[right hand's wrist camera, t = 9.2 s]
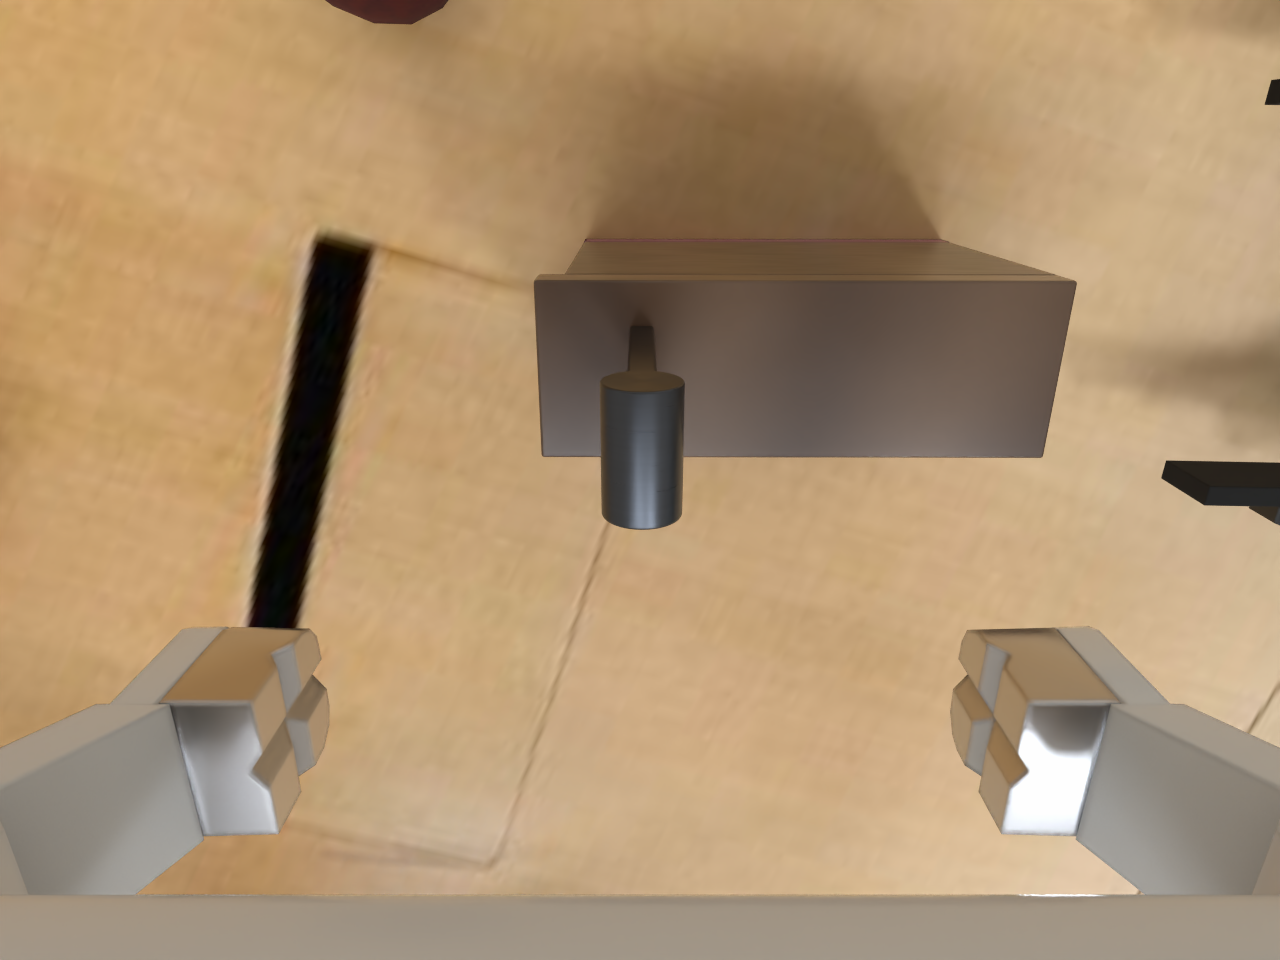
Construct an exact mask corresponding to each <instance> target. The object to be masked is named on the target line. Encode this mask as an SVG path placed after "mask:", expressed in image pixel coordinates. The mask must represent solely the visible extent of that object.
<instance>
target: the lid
mask: <svg viewBox="0 0 1280 960" xmlns="http://www.w3.org/2000/svg"><path fill="white" fill-rule="evenodd" d="M1076 285H1077V283H1076V281H1074V280H1070V279H1067V278H1064V277H1061V276H1057V275H605V274H540V275H539V276H538V277H537V278H536V279H535V281H534V298H535V320H536V342H537V363H538V385H539V407H540V429H541V450H542V456H544V457H601V493H602V515H603V517H604V518H605V519H606V520H607V521H608V522H609V523H611V524H613V525H616V526H619V527H623V528H628V529H639V530H646V529H656V528H661V527H665V526H668V525H671V524H673V523H675V522H676V521H677V520H678V519H679V518H680V517H681V515H682V491H683V457H935V458H1041V457H1042V456H1043V452H1044V447H1045V442H1046V437H1047V432H1048V427H1049V422H1050V417H1051V412H1052V407H1053V401H1054V396H1055V391H1056V386H1057V381H1058V376H1059V371H1060V366H1061V361H1062V356H1063V351H1064V346H1065V340H1066V335H1067V330H1068V325H1069V320H1070V315H1071V310H1072V305H1073V300H1074V295H1075V290H1076Z"/></svg>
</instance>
